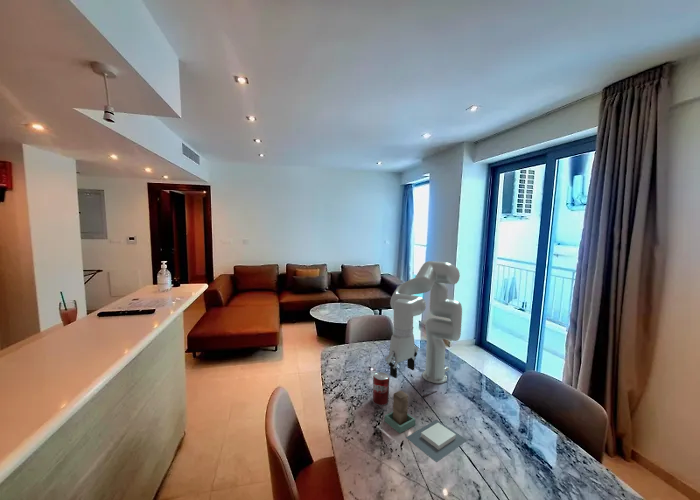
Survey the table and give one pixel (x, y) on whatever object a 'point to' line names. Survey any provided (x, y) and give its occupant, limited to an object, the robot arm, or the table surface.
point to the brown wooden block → (400, 407)
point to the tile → (438, 435)
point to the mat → (429, 448)
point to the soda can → (380, 388)
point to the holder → (398, 427)
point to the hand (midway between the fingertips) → (402, 372)
